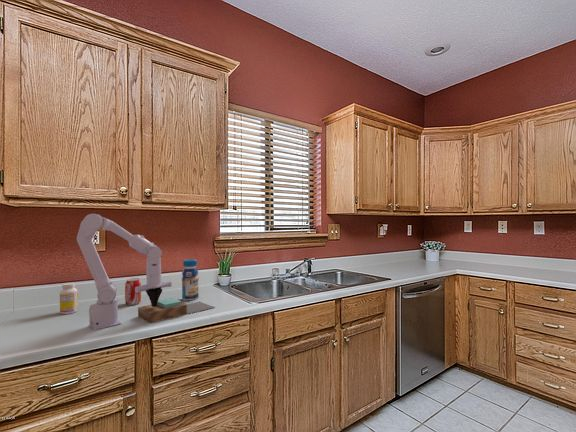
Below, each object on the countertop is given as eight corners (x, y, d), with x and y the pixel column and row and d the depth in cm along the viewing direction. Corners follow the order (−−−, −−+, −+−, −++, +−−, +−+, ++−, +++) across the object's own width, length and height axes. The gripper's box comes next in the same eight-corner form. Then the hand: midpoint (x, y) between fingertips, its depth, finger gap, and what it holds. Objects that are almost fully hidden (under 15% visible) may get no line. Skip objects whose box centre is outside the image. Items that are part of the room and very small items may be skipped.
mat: (189, 314, 135) (189, 313, 135) (174, 307, 145) (174, 307, 145) (214, 307, 144) (214, 307, 144) (199, 302, 154) (199, 301, 154)
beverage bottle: (188, 296, 167) (188, 258, 167) (202, 297, 164) (201, 259, 164) (178, 300, 159) (178, 260, 159) (192, 301, 156) (191, 261, 156)
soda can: (121, 305, 150) (121, 280, 150) (133, 301, 157) (132, 277, 157) (133, 306, 148) (133, 281, 148) (144, 302, 155) (144, 278, 155)
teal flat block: (164, 308, 130) (164, 304, 130) (156, 304, 136) (155, 300, 136) (180, 305, 135) (180, 301, 135) (171, 301, 141) (171, 297, 141)
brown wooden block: (149, 323, 124) (149, 313, 124) (138, 316, 132) (138, 307, 132) (186, 313, 135) (186, 304, 135) (174, 308, 144) (174, 299, 144)
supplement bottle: (68, 309, 144) (68, 282, 144) (81, 310, 143) (81, 282, 143) (55, 314, 137) (55, 285, 137) (69, 314, 136) (68, 285, 136)
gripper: (139, 277, 123) (139, 312, 123) (174, 272, 134) (174, 304, 134) (133, 275, 128) (133, 308, 128) (167, 271, 139) (167, 301, 139)
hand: (154, 306), depth 131 cm, fingers closed
